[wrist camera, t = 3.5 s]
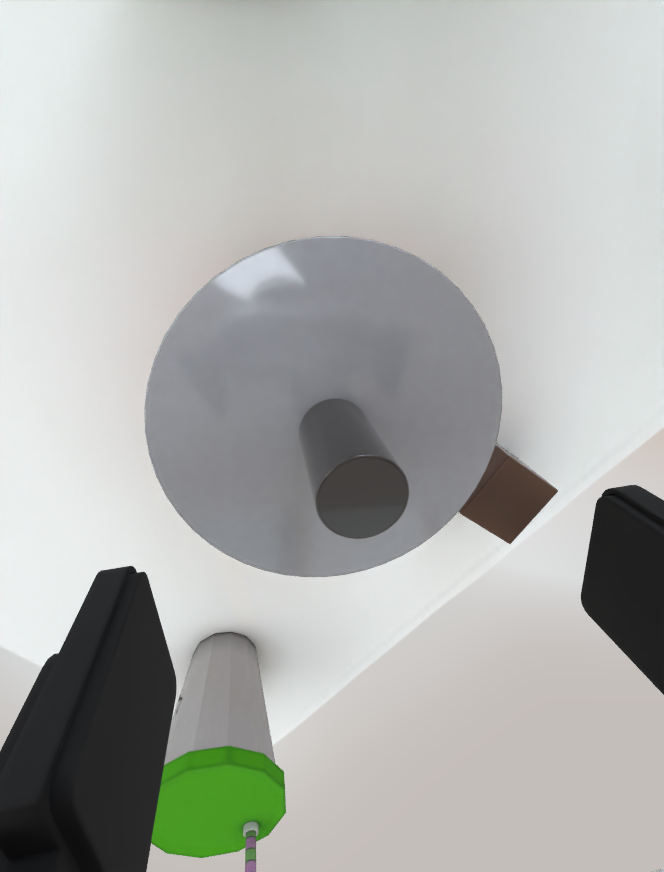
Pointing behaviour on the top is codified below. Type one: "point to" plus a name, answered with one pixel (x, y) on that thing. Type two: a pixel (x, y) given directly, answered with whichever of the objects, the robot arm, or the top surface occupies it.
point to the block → (507, 496)
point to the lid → (323, 406)
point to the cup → (219, 758)
